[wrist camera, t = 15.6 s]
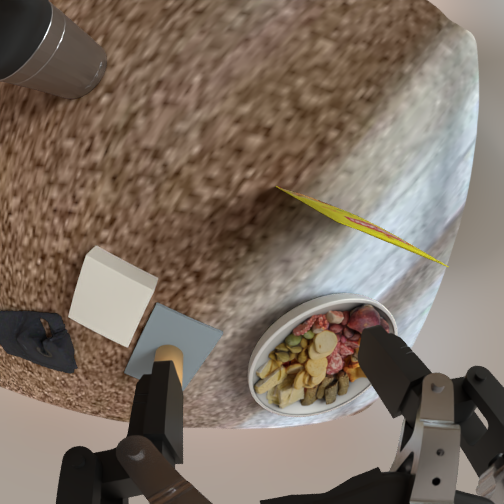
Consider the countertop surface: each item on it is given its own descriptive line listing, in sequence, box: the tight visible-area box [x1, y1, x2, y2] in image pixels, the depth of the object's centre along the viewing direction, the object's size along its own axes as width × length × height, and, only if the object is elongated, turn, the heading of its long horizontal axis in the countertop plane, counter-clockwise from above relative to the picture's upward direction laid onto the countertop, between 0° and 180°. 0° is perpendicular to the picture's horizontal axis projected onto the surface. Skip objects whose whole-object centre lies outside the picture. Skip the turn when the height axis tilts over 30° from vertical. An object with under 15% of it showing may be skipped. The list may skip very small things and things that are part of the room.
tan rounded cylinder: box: [154, 345, 184, 386], centre depth 41 cm, size 5×5×9 cm
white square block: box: [68, 246, 158, 347], centre depth 38 cm, size 11×12×4 cm
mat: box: [124, 302, 223, 391], centre depth 46 cm, size 12×18×1 cm, turn 148°
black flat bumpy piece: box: [0, 311, 78, 374], centre depth 39 cm, size 15×22×5 cm
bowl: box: [248, 293, 397, 417], centre depth 48 cm, size 30×30×8 cm
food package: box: [276, 186, 448, 267], centre depth 31 cm, size 15×1×20 cm, turn 71°
